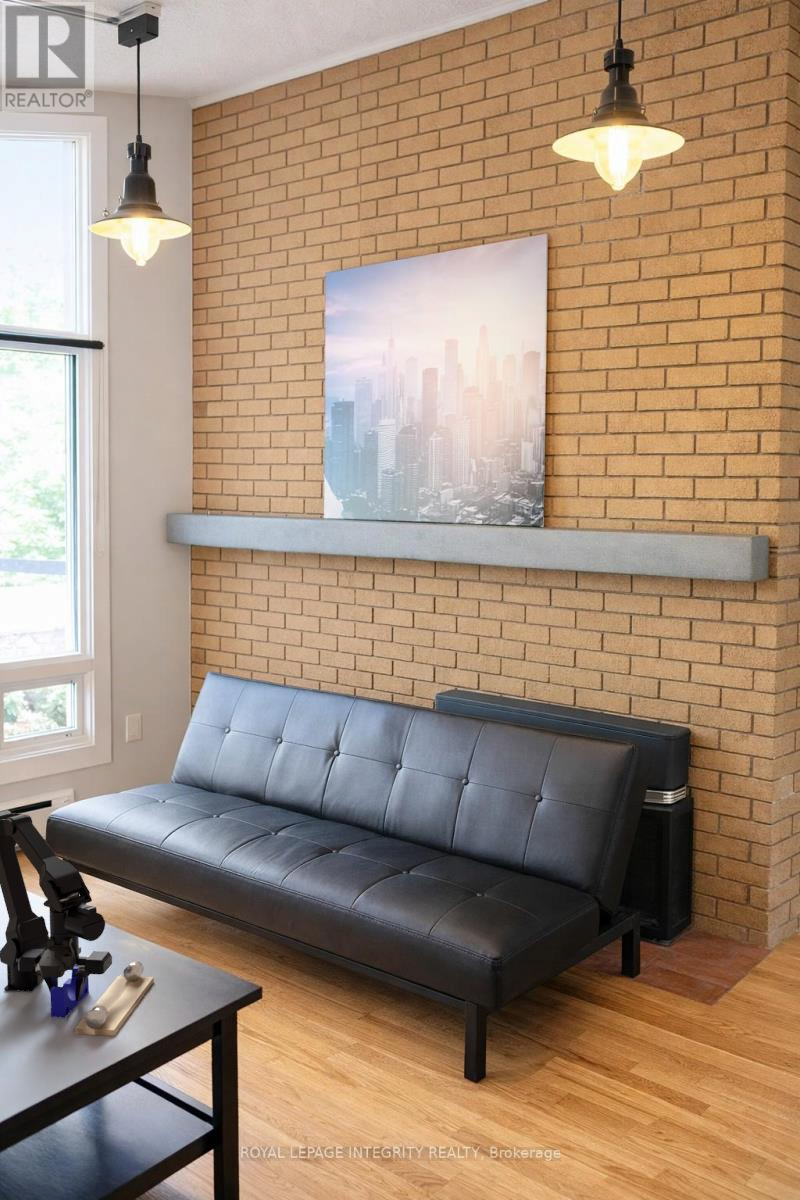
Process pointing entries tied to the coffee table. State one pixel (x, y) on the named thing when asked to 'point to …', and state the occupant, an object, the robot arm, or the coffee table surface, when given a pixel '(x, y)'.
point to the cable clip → (66, 996)
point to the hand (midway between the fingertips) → (66, 999)
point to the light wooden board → (117, 1004)
